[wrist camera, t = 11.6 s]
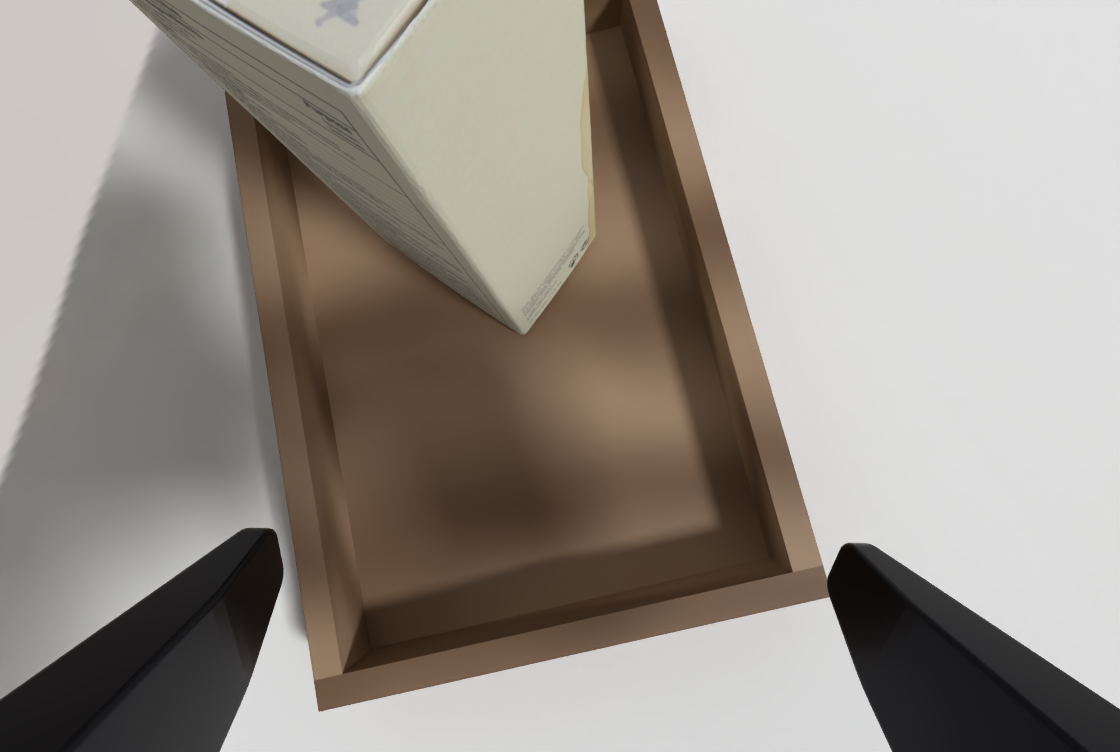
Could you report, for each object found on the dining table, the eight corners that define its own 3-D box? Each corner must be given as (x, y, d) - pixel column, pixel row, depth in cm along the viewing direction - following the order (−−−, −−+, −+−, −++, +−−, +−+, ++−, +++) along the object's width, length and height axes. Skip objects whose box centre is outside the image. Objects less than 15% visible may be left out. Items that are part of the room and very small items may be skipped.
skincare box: (599, 236, 18) (612, -208, 6) (521, 344, 18) (363, 111, 6) (449, 139, 19) (191, -424, 7) (372, 240, 18) (-49, -160, 6)
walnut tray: (796, 574, 17) (831, 596, 14) (358, 673, 17) (318, 711, 15) (635, 13, 20) (642, -50, 17) (266, 108, 20) (220, 60, 17)
